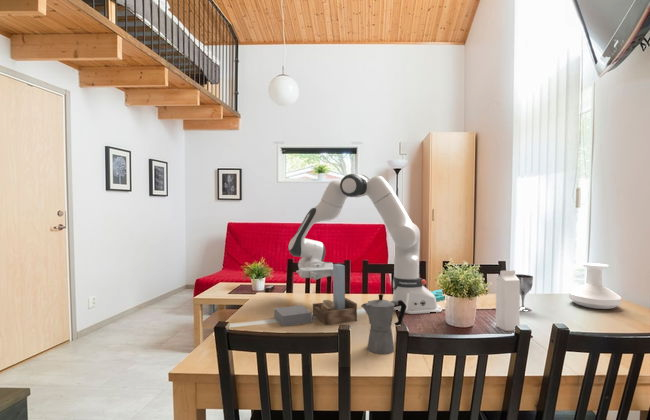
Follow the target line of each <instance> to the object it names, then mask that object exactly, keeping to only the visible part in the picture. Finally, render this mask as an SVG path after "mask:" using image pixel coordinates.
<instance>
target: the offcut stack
mask: <svg viewBox="0 0 650 420" xmlns="http://www.w3.org/2000/svg"><path fill="white" fill-rule="evenodd" d="M322 303H323V305H321V310H323V311H324V312H325V311H333V310H334V302H332V300H330V299H324V300H322Z"/></svg>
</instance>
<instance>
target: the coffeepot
mask: <svg viewBox="0 0 650 420" xmlns="http://www.w3.org/2000/svg"><path fill="white" fill-rule="evenodd" d="M383 298H384V294H383V293H379V294H378V299H374V300H369V301H367V302H365V303H363V304H361V306H360V307H361V308H363V310H364V311H365V313H366V316H367V317H368V321H369V322H368V323H369V324H370V328H369V336H368V342H367V347H366V349H367V350H368V351H369V352H370V353H372V354H378V355H388V354H391V353H394V352H395V343H394V338H393V332H392V323H394V325H395V326H400V325H402V323H403V320H404V316H405V314H406V313H405V310H406V304H405V303H404V302H403V301H402V300H398V301H392V300H391V301H390V300H387V299H383ZM397 306H401V309H400V311H399V315H398V318H397V319H398V320H397V322H393V317H394V311H395V310H394V307H397Z"/></svg>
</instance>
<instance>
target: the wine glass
mask: <svg viewBox="0 0 650 420" xmlns="http://www.w3.org/2000/svg"><path fill="white" fill-rule="evenodd" d="M515 275H516V276H517V277H518V279H519V280H520V297H521V298H520V299H521V305H520V312H532V309H531V308H529V307H525V297H526V295H527V294H528V293H529V292H530V291H531V290H532V288H533V283H534V276H532V275H530V274H529V275H528V274H524V273H523V274H521V273H520V274H517V273H515Z"/></svg>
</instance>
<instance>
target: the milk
mask: <svg viewBox="0 0 650 420" xmlns="http://www.w3.org/2000/svg"><path fill="white" fill-rule="evenodd" d="M499 273H500V274H499V275H498V276H496V277H495V327H498V328H499V329H501V330H502V331H505V332H509V331H515V330H514V328H515V326H516V325H517V326H521V325H520V317H521V316H520V312H521V311H520V307H521V303H520V302H521V301H520V299H521V298H520V297H521V295H520V280H519V279H518V277H517V276H516V275H515V274H516V270H500V272H499Z"/></svg>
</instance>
